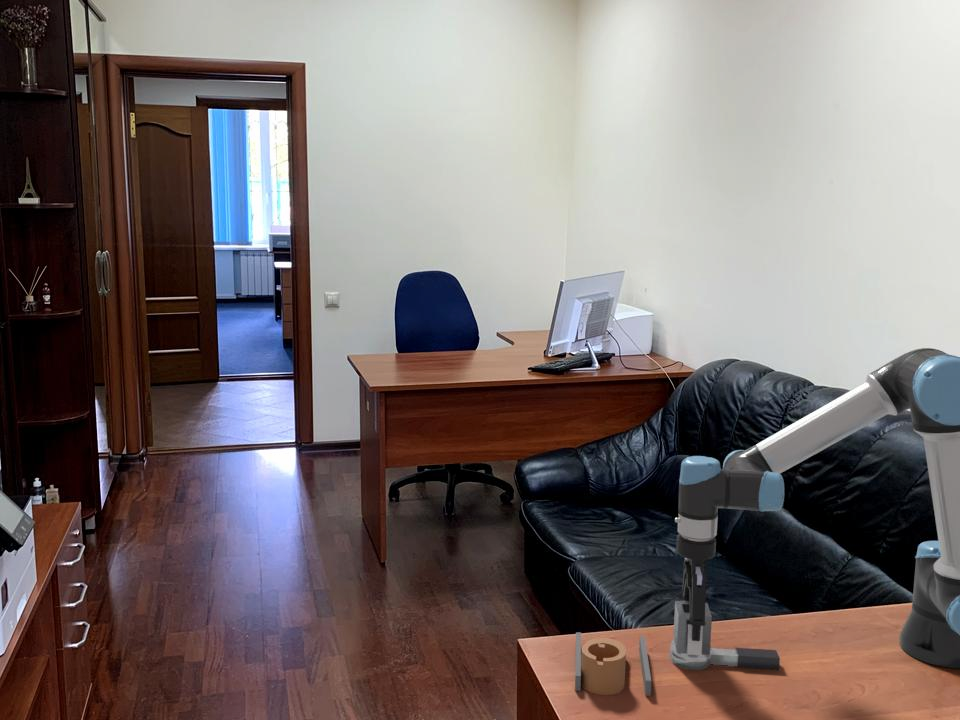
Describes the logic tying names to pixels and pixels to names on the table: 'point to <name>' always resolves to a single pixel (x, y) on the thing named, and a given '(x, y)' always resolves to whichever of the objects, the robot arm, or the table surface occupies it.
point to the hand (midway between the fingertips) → (691, 642)
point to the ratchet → (727, 658)
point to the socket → (682, 628)
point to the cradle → (642, 658)
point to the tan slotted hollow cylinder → (603, 666)
